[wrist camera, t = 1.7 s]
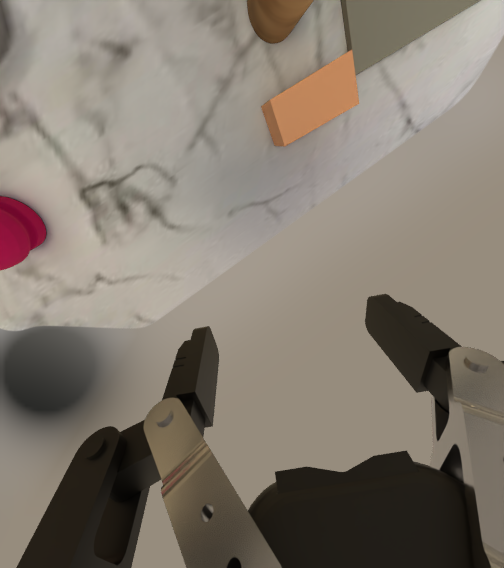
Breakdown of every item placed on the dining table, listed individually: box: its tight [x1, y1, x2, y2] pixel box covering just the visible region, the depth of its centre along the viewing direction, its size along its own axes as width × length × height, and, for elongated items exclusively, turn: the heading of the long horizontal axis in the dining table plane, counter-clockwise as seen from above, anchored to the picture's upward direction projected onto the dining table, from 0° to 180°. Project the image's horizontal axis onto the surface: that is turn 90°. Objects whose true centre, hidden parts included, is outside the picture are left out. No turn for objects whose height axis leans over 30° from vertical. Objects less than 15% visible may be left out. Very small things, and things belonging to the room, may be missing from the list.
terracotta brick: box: [261, 50, 359, 146], centre depth 22 cm, size 8×4×4 cm, turn 116°
